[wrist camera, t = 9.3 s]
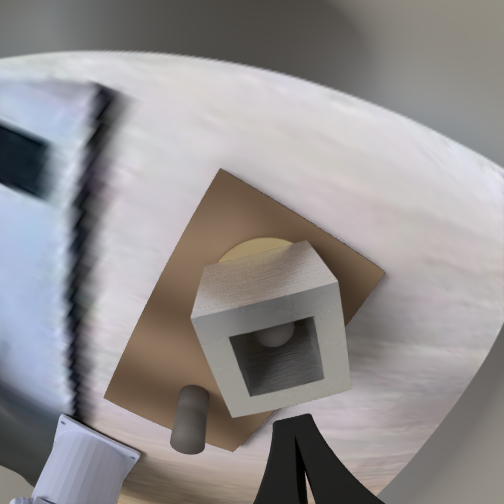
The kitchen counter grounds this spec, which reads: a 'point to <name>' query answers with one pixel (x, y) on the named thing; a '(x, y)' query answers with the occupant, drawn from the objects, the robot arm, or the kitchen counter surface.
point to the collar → (268, 315)
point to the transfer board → (182, 302)
